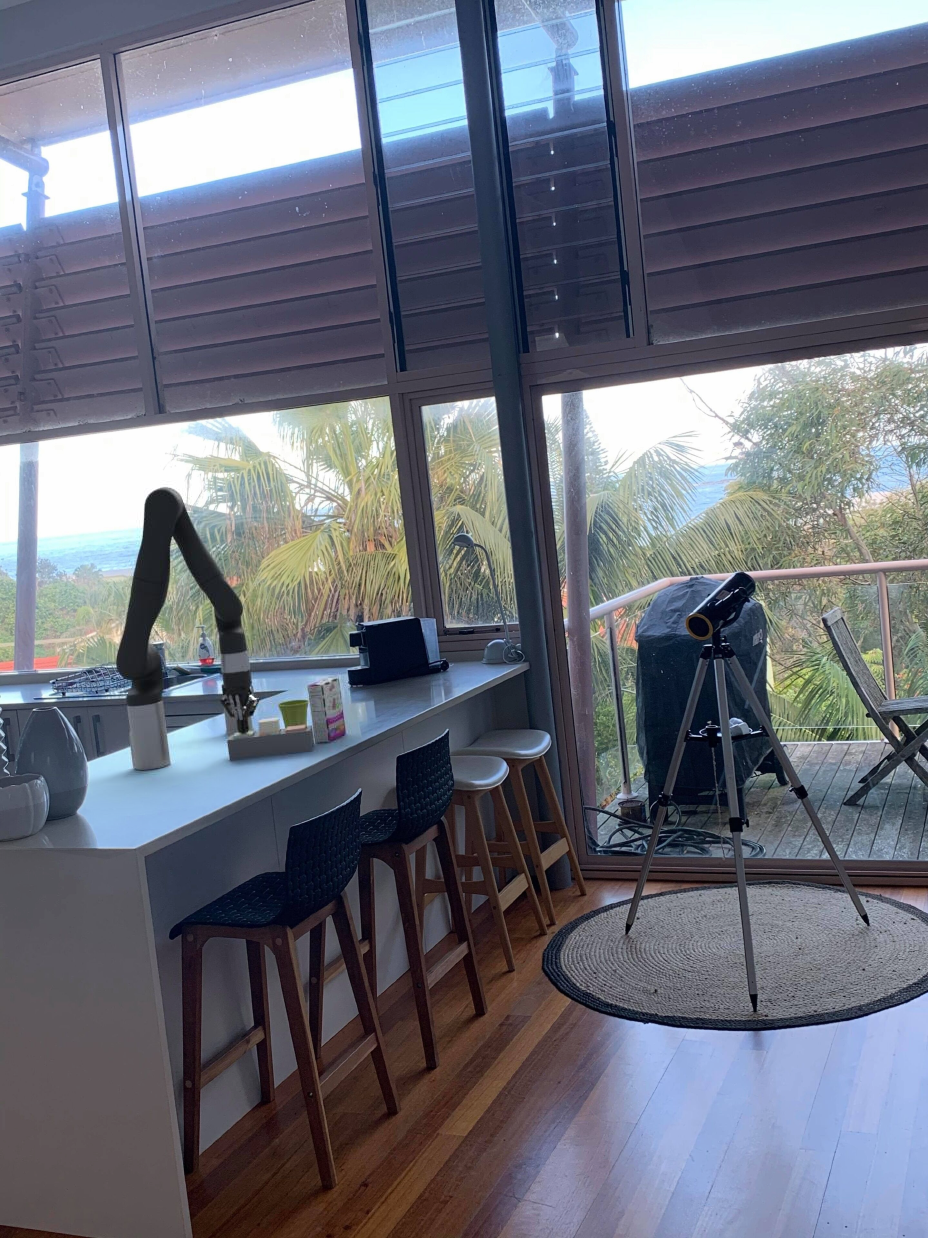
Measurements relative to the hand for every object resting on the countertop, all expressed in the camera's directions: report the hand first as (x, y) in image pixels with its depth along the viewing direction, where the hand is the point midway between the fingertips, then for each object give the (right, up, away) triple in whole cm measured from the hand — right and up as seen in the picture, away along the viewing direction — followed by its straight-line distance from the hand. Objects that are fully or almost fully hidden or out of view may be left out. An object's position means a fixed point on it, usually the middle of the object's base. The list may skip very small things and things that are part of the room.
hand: (243, 732), depth 307 cm
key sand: (+7, -1, +1) cm, 7 cm away
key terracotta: (+14, -4, +1) cm, 15 cm away
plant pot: (+10, -3, +31) cm, 33 cm away
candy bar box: (+22, -3, +13) cm, 26 cm away
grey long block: (+8, -5, +1) cm, 9 cm away
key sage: (0, -5, 0) cm, 5 cm away
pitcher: (-8, -4, +43) cm, 44 cm away
